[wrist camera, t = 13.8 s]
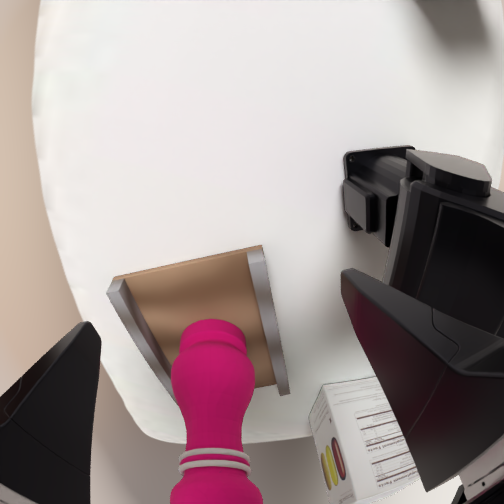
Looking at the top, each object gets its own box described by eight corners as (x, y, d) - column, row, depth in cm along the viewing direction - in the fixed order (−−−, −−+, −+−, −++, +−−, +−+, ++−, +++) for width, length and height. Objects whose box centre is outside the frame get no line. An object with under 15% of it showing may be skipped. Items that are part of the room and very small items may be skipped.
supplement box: (321, 383, 33) (357, 501, 19) (383, 373, 34) (428, 474, 20) (307, 418, 38) (330, 515, 23) (361, 408, 39) (392, 496, 24)
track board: (114, 276, 23) (105, 293, 21) (261, 244, 23) (265, 260, 21) (182, 394, 32) (181, 410, 30) (287, 377, 32) (290, 393, 30)
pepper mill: (235, 370, 29) (252, 553, 12) (169, 355, 27) (154, 549, 10) (262, 324, 26) (302, 548, 9) (185, 304, 24) (169, 554, 7)
